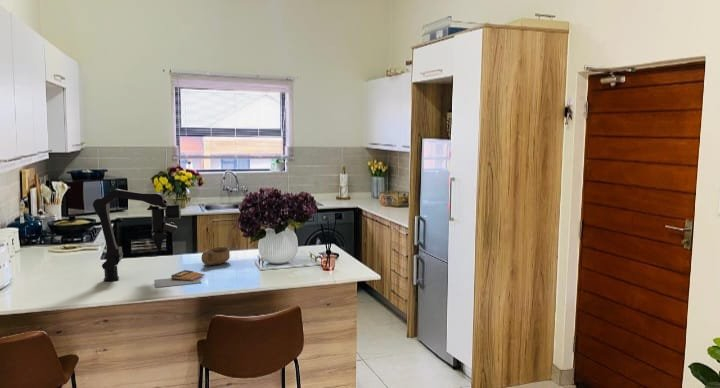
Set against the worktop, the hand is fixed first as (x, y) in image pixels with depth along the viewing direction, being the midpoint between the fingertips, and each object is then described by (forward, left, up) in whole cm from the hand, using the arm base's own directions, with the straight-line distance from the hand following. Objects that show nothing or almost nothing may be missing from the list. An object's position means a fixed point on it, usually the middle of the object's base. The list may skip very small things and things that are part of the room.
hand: (159, 250), depth 266 cm
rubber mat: (+13, +7, -13) cm, 19 cm away
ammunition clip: (+4, +8, -11) cm, 14 cm away
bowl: (-16, +28, -13) cm, 35 cm away
